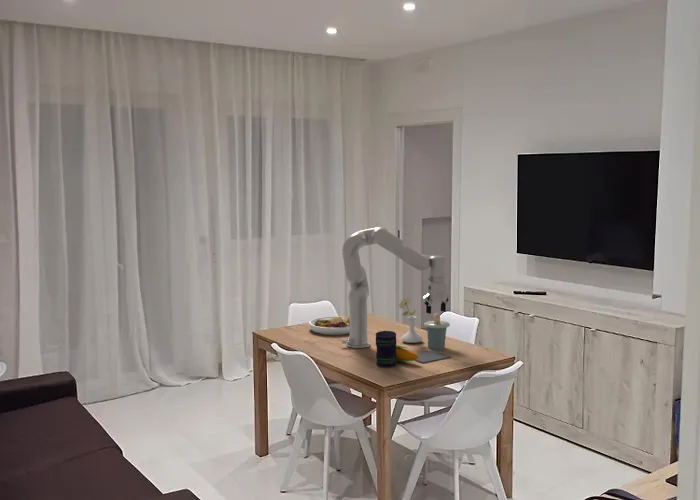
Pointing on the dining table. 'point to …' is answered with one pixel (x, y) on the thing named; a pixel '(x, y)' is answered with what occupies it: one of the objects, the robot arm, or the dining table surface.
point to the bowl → (330, 325)
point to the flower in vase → (411, 334)
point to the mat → (430, 356)
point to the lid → (436, 322)
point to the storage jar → (386, 349)
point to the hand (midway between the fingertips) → (435, 312)
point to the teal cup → (436, 338)
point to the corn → (405, 354)
